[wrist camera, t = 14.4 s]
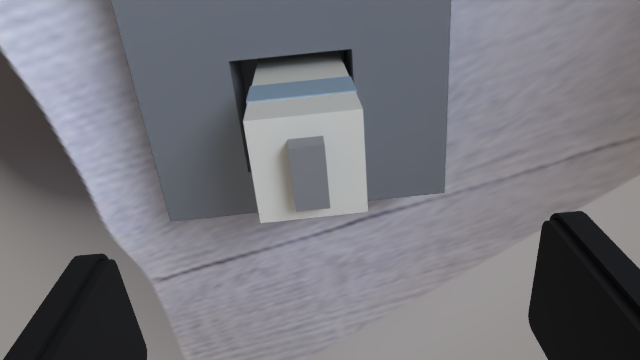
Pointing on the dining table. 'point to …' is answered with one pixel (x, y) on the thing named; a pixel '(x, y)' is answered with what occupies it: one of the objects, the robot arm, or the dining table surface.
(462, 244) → the dining table surface
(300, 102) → the plug
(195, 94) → the panel
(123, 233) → the dining table surface
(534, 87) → the dining table surface
